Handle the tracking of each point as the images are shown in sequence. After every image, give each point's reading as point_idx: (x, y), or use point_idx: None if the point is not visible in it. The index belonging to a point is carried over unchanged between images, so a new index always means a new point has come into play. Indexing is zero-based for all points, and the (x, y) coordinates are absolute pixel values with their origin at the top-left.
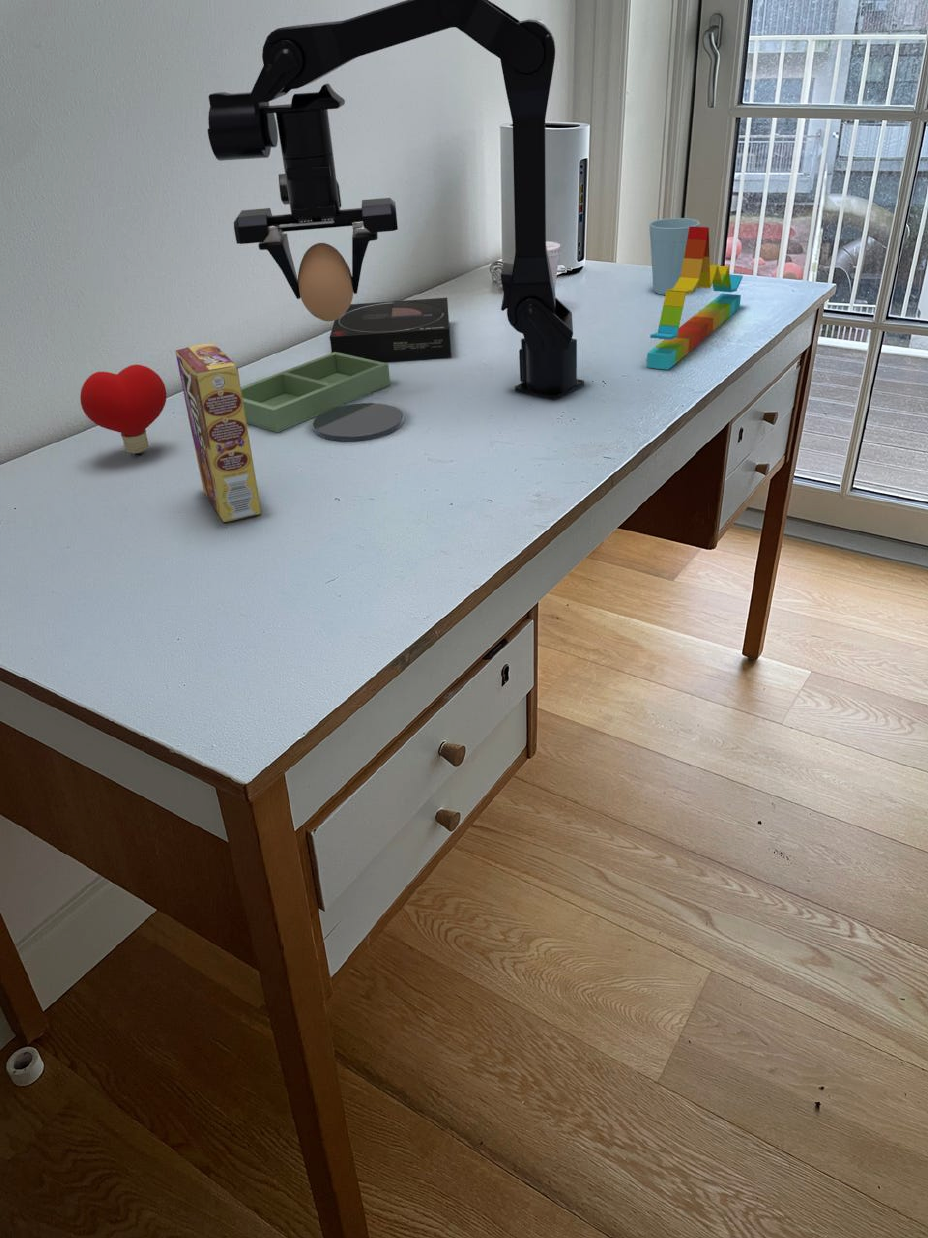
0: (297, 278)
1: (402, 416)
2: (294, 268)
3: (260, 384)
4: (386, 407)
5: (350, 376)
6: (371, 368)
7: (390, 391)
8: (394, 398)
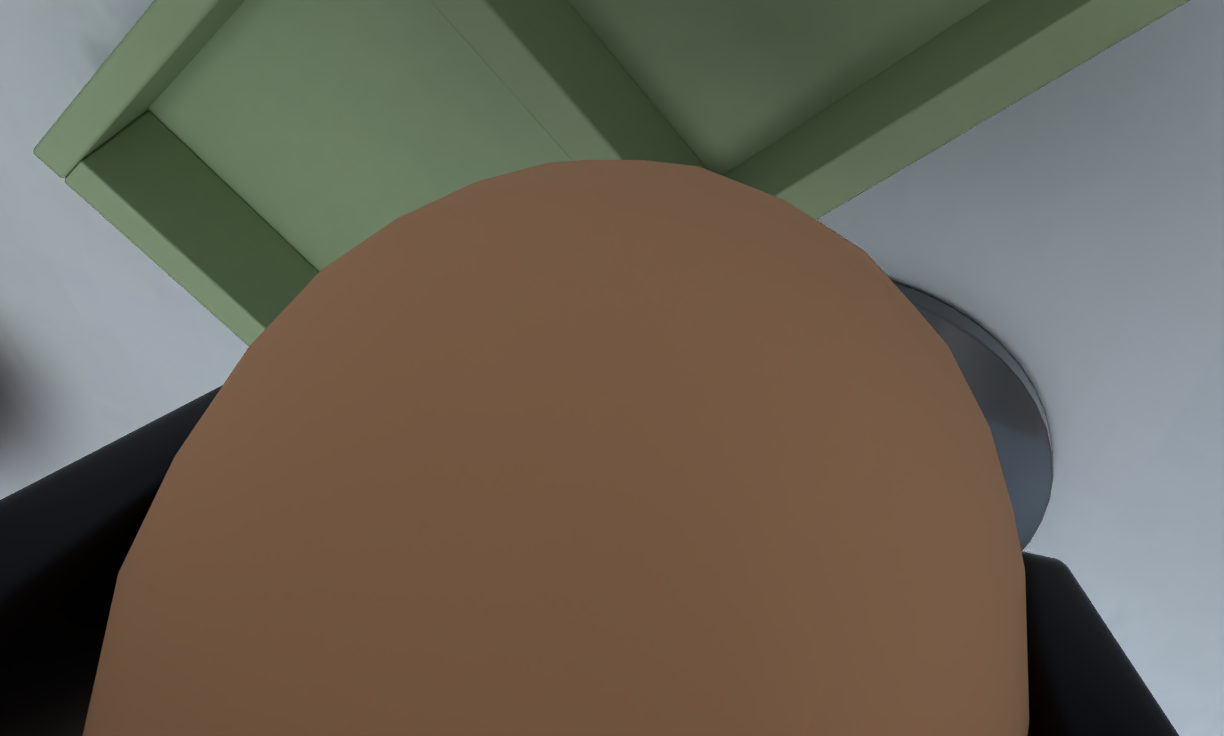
0: (129, 526)
1: (1032, 532)
2: (3, 657)
3: (211, 13)
4: (993, 402)
5: (844, 162)
6: (1057, 41)
7: (1148, 63)
8: (1118, 205)
